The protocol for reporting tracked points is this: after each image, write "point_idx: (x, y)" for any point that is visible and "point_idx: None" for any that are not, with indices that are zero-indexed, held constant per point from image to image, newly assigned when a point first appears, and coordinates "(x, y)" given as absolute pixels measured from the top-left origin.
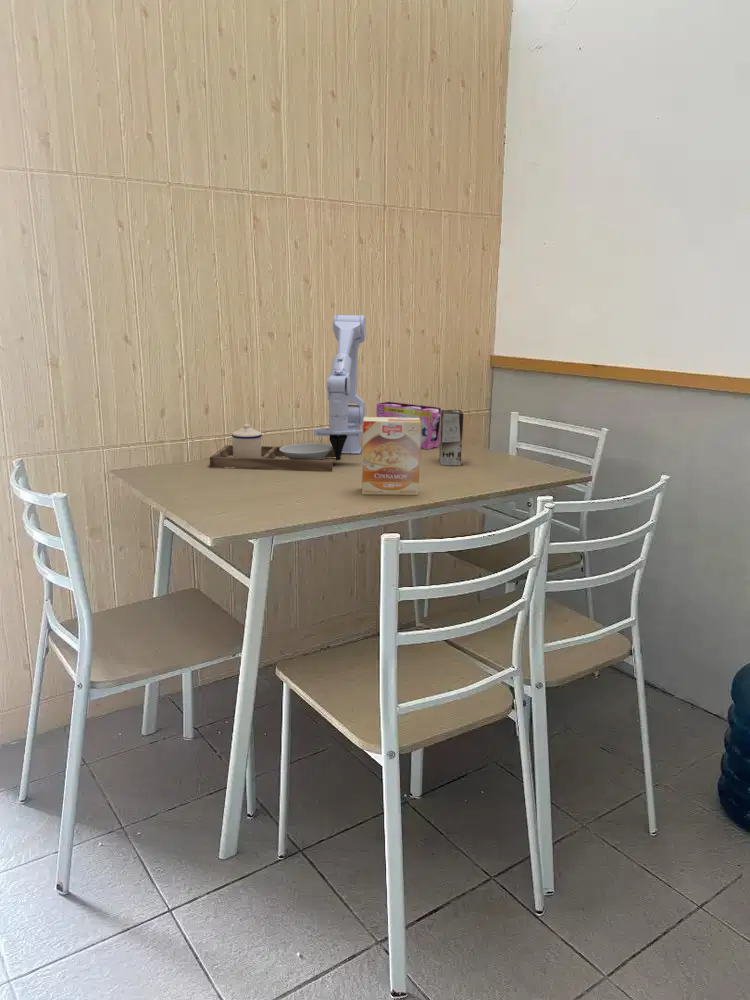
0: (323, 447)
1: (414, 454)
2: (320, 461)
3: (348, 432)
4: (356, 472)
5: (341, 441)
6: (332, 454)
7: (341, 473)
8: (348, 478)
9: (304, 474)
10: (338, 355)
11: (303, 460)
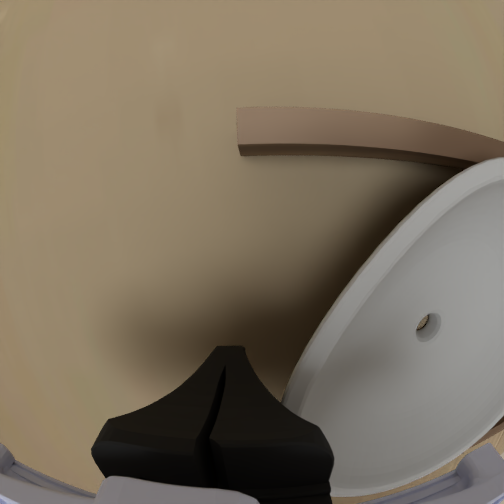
0: (348, 469)
1: None
2: (343, 111)
3: (36, 499)
4: (85, 145)
5: (151, 424)
6: None
7: (169, 91)
8: (127, 6)
9: (391, 47)
10: None
11: (460, 130)
